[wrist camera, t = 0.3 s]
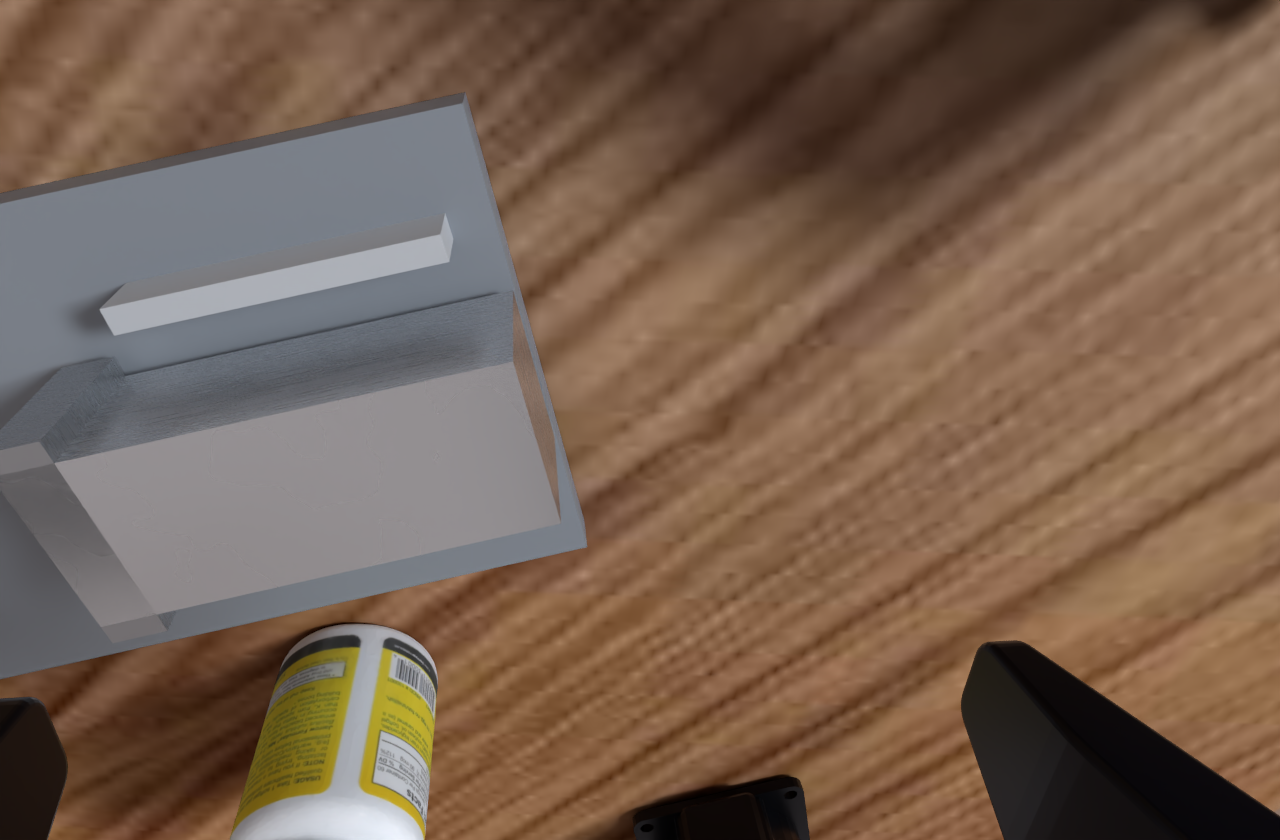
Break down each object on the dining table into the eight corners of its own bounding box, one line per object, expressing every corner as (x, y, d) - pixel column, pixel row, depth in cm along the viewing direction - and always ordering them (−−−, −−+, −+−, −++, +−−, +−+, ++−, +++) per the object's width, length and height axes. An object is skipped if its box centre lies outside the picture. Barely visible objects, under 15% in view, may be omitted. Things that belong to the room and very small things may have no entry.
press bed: (584, 520, 25) (606, 716, 19) (-134, 681, 24) (-343, 932, 18) (465, 91, 18) (441, 181, 12) (-509, 304, 18) (-1015, 500, 12)
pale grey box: (559, 452, 21) (566, 540, 18) (168, 540, 21) (112, 643, 18) (507, 269, 19) (505, 338, 16) (61, 367, 19) (-25, 455, 16)
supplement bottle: (268, 711, 27) (180, 1001, 20) (296, 604, 25) (209, 885, 18) (419, 733, 28) (388, 1012, 21) (457, 633, 26) (437, 905, 19)
